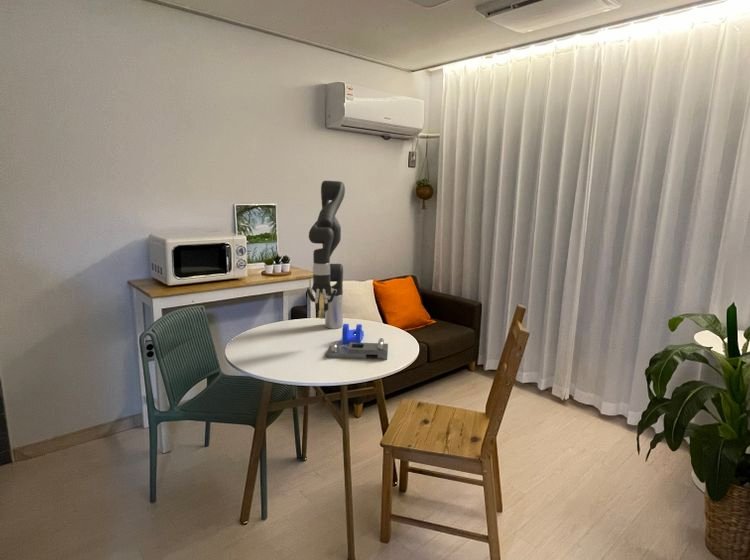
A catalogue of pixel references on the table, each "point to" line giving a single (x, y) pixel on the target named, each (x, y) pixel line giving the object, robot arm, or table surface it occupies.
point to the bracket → (352, 334)
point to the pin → (321, 305)
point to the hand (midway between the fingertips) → (322, 310)
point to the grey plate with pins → (358, 350)
